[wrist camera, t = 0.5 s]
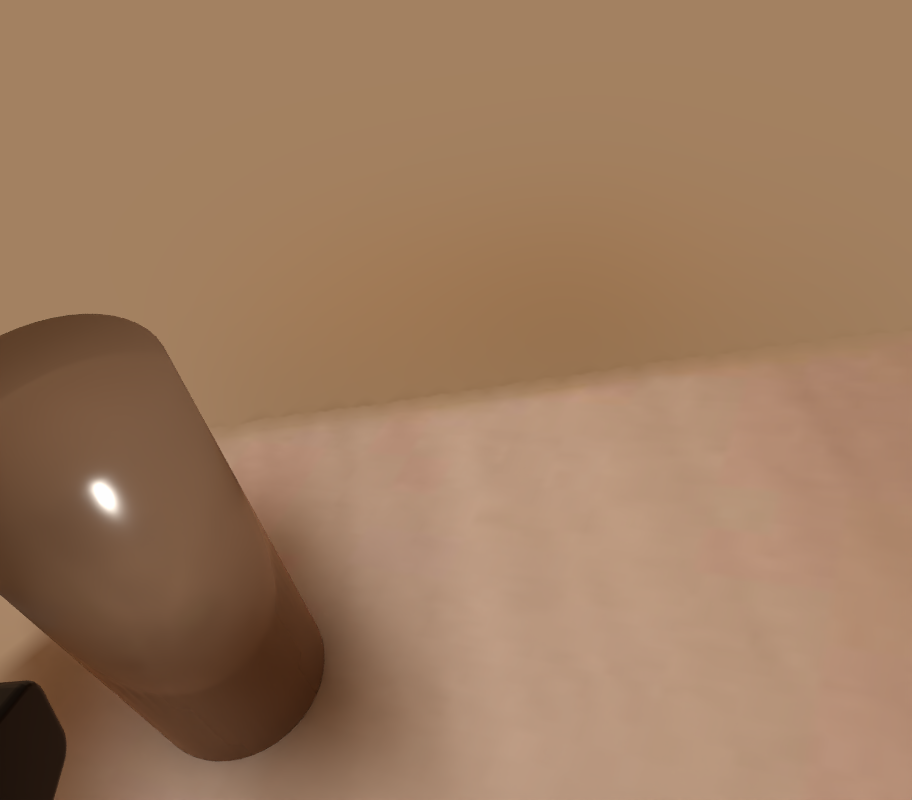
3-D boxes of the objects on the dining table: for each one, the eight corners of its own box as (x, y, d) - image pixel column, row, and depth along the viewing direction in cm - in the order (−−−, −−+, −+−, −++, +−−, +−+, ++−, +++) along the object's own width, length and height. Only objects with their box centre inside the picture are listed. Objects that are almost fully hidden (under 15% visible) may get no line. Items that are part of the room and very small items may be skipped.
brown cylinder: (292, 775, 23) (87, 549, 13) (123, 744, 24) (-178, 513, 14) (345, 602, 27) (213, 321, 17) (195, 582, 28) (-9, 307, 18)
